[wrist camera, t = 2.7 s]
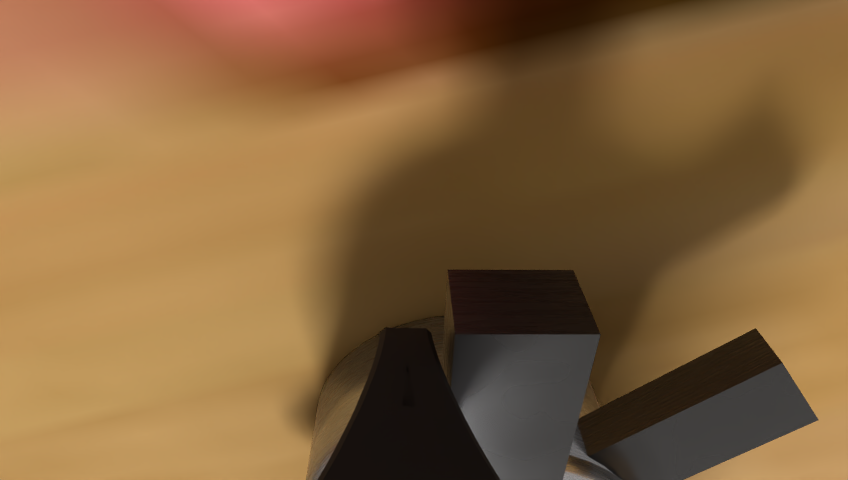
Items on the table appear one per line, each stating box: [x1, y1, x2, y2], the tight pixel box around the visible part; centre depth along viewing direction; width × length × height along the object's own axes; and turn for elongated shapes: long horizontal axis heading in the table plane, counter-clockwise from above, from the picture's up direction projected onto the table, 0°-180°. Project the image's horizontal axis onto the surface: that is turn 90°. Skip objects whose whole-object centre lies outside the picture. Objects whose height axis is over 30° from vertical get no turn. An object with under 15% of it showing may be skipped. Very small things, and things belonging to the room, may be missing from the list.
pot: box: [306, 316, 818, 480], centre depth 19 cm, size 17×10×5 cm, turn 129°
